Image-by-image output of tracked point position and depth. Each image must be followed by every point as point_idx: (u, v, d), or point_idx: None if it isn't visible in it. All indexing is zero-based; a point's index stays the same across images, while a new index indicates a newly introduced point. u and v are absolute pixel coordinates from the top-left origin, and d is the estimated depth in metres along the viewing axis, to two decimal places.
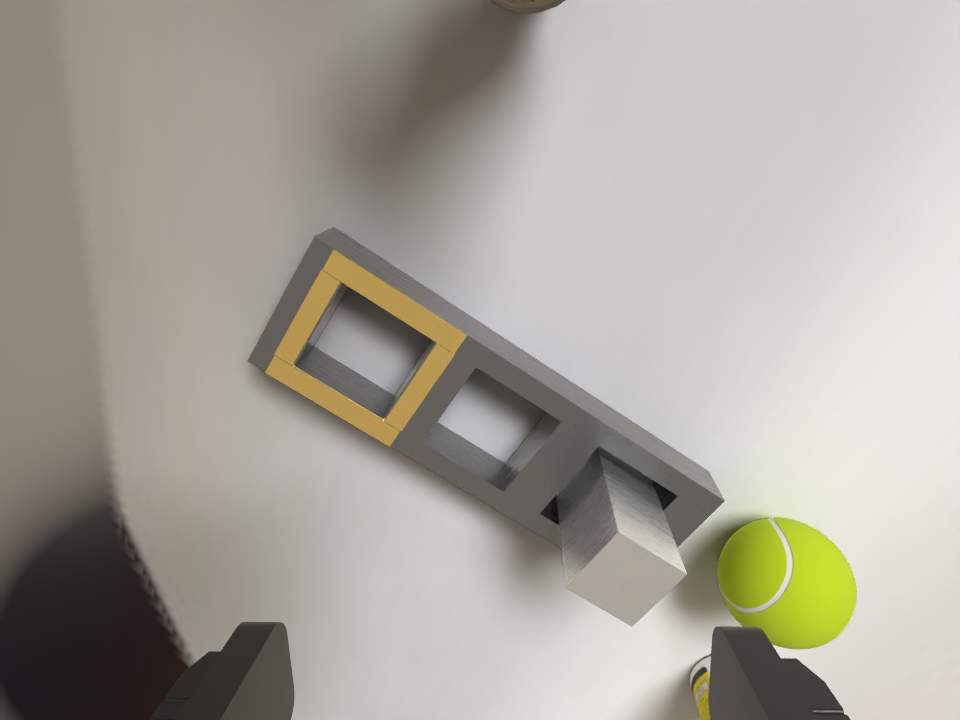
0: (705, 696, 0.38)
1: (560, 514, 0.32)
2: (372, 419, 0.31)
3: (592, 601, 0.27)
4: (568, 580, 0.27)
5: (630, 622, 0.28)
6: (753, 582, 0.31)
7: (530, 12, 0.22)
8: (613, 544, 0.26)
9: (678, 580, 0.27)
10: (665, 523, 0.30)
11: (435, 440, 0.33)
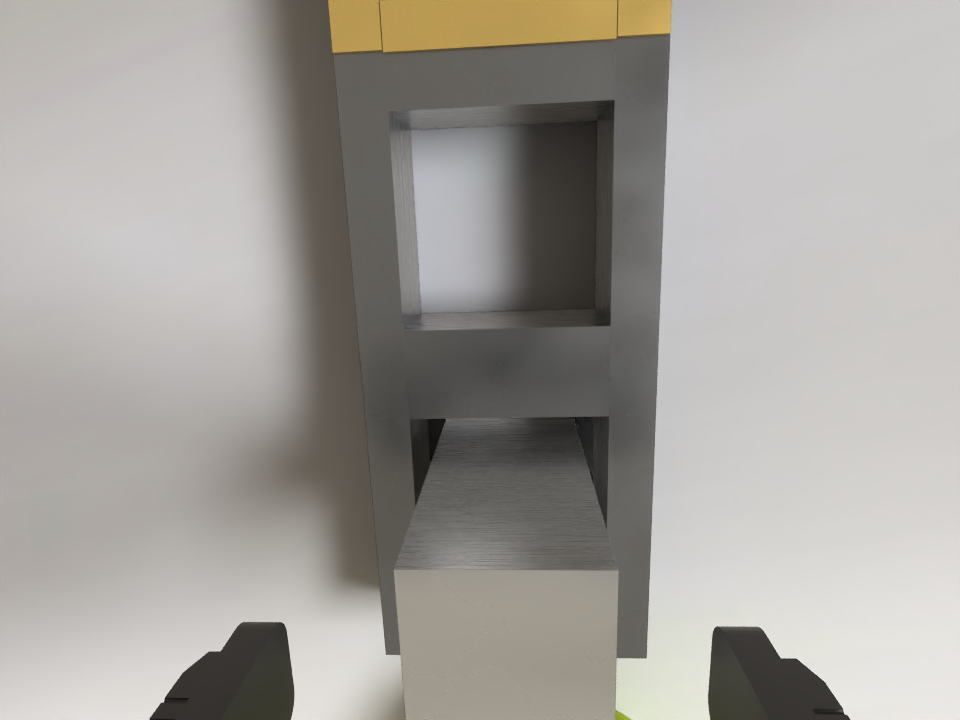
0: None
1: (442, 451, 0.16)
2: None
3: (404, 642, 0.11)
4: (409, 561, 0.11)
5: None
6: None
7: None
8: (579, 583, 0.10)
9: None
10: None
11: (398, 148, 0.15)
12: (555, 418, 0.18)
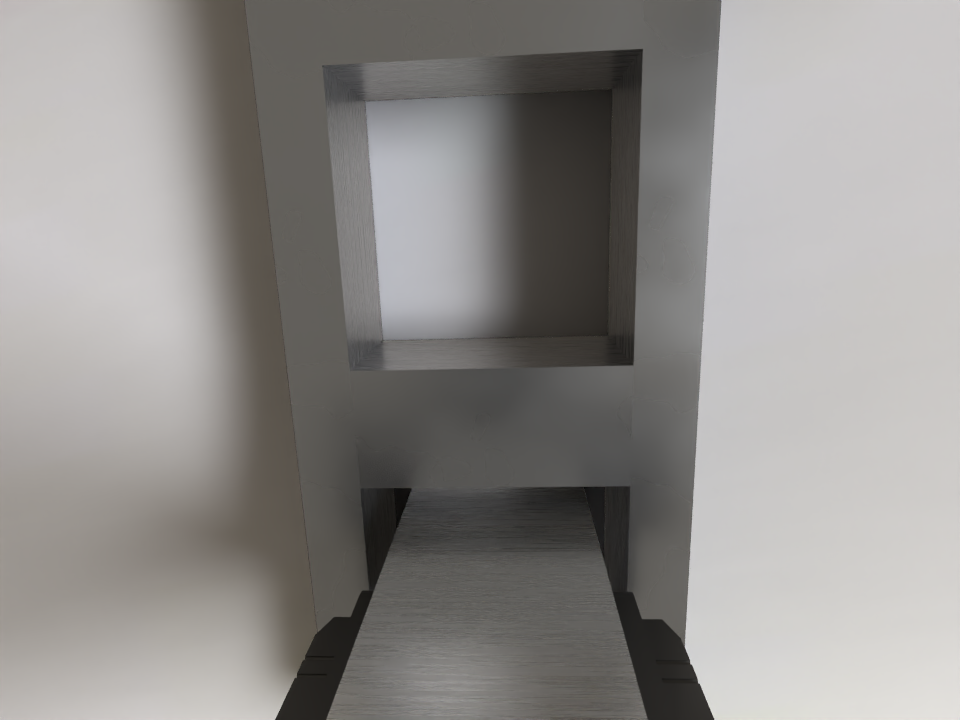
0: None
1: (404, 536, 0.11)
2: None
3: None
4: None
5: None
6: None
7: None
8: None
9: None
10: None
11: (342, 120, 0.11)
12: None
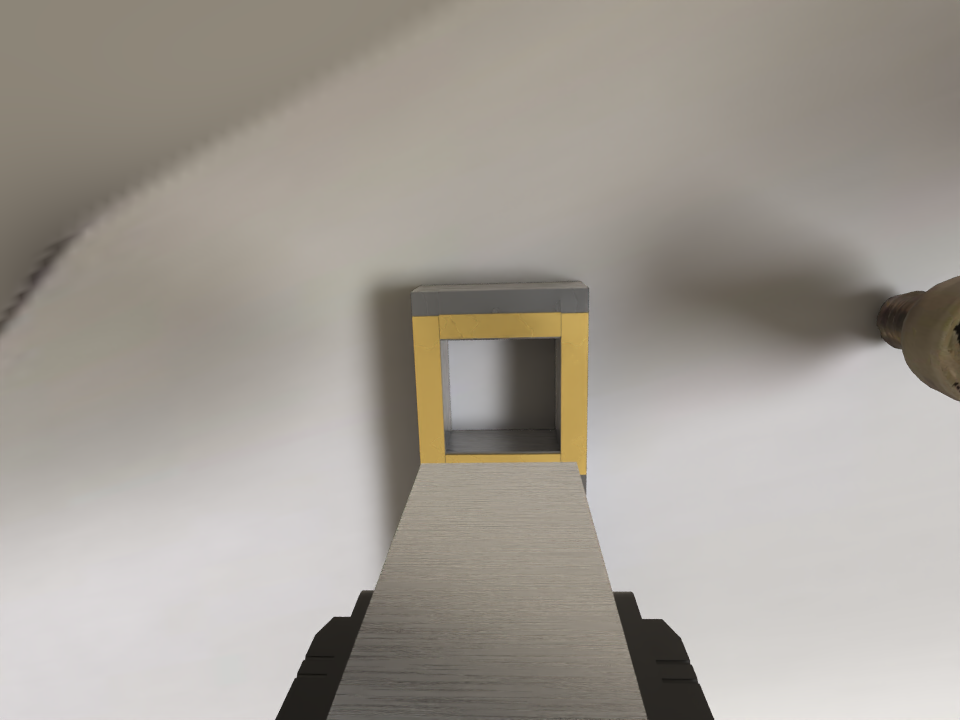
0: None
1: (404, 536, 0.11)
2: (438, 444, 0.27)
3: None
4: None
5: None
6: None
7: (916, 372, 0.24)
8: None
9: None
10: None
11: None
12: (557, 479, 0.14)
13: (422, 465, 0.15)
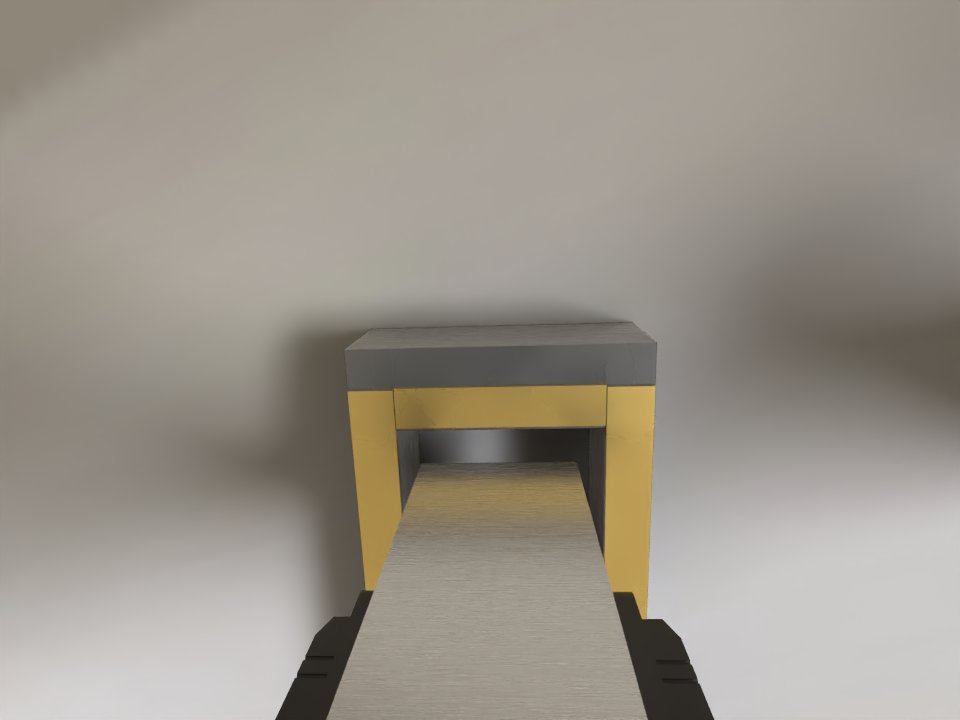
0: None
1: (404, 536, 0.11)
2: None
3: None
4: None
5: None
6: None
7: None
8: None
9: None
10: None
11: None
12: (557, 479, 0.14)
13: (422, 465, 0.15)
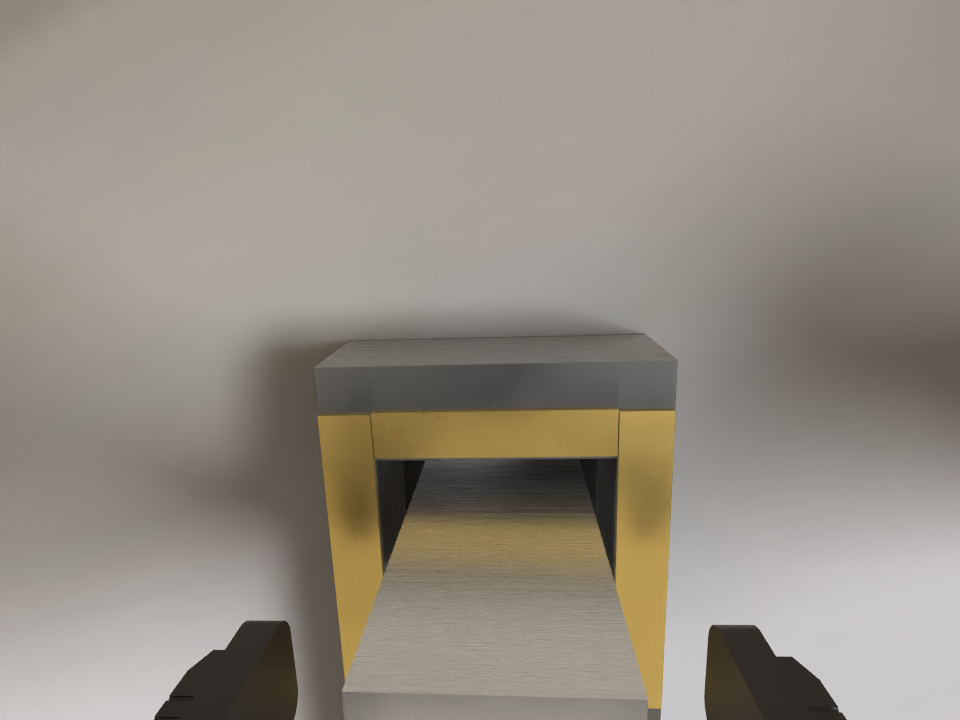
0: None
1: (420, 500, 0.13)
2: None
3: None
4: (364, 678, 0.08)
5: None
6: None
7: None
8: (594, 716, 0.07)
9: None
10: None
11: None
12: None
13: None
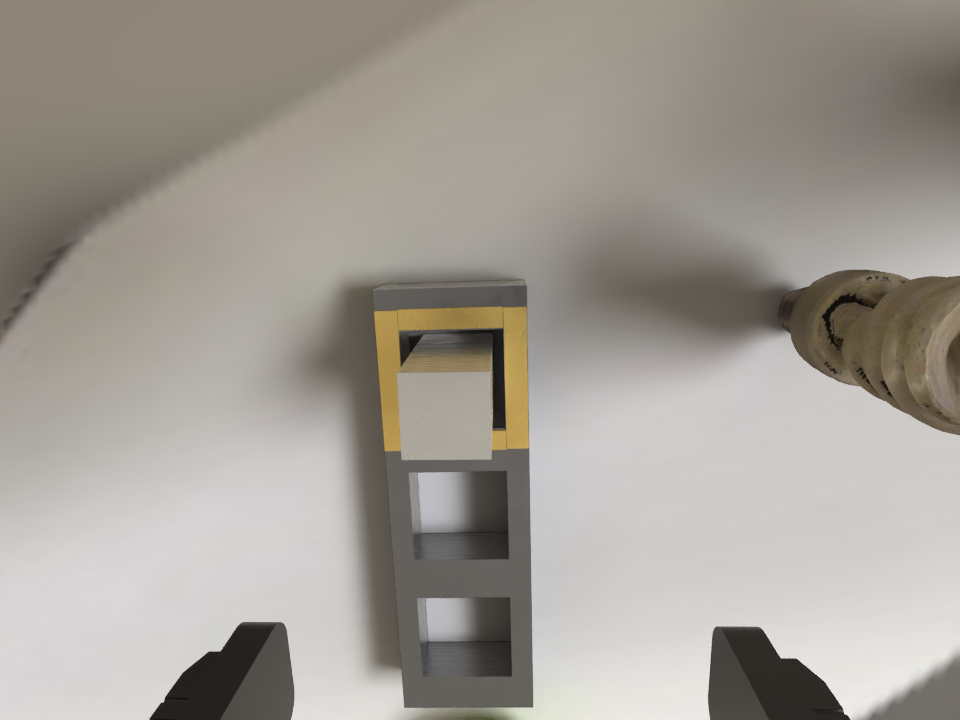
0: None
1: (418, 346, 0.30)
2: (399, 423, 0.31)
3: (400, 407, 0.25)
4: (403, 371, 0.25)
5: (404, 455, 0.25)
6: None
7: (801, 354, 0.28)
8: (474, 378, 0.25)
9: (480, 457, 0.25)
10: (492, 427, 0.29)
11: (412, 477, 0.33)
12: (482, 336, 0.32)
13: (424, 334, 0.33)
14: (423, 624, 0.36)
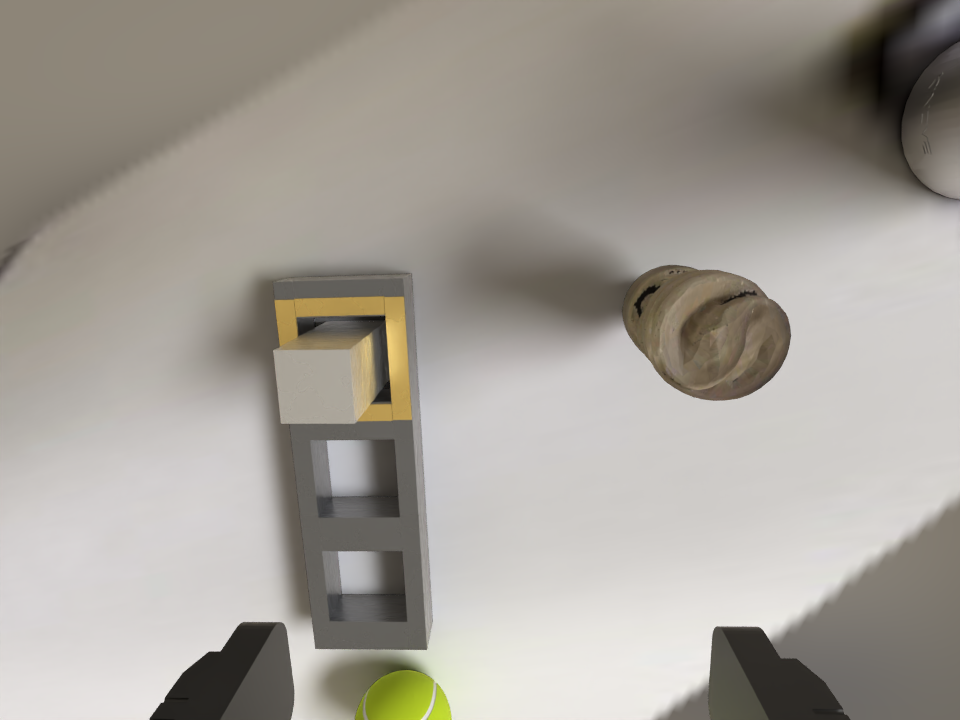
0: None
1: (312, 330, 0.35)
2: None
3: (277, 378, 0.30)
4: (279, 349, 0.30)
5: (283, 419, 0.30)
6: (392, 712, 0.39)
7: None
8: (337, 354, 0.29)
9: (345, 421, 0.30)
10: (370, 399, 0.34)
11: (316, 445, 0.38)
12: (374, 323, 0.37)
13: (327, 321, 0.38)
14: (333, 576, 0.41)
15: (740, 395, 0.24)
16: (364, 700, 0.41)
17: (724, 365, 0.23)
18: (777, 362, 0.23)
